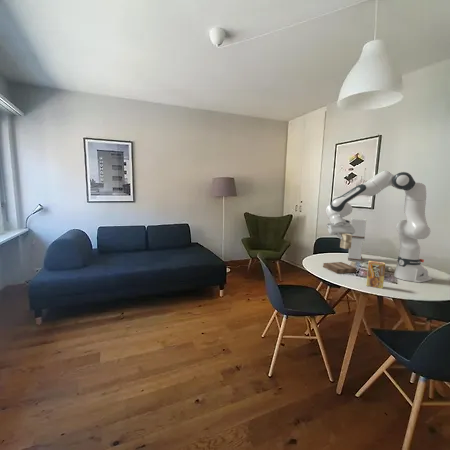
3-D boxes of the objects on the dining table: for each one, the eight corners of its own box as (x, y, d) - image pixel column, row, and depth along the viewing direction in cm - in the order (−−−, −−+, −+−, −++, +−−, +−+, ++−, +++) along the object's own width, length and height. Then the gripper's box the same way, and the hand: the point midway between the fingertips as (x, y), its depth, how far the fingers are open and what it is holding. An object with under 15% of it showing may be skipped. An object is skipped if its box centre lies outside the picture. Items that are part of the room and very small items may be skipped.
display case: (362, 262, 212) (366, 220, 207) (348, 260, 217) (351, 219, 212) (361, 258, 222) (365, 218, 217) (348, 257, 227) (351, 217, 222)
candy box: (382, 286, 158) (385, 262, 156) (383, 288, 155) (385, 264, 153) (366, 283, 163) (368, 260, 160) (366, 286, 159) (368, 262, 157)
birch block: (345, 247, 186) (347, 233, 185) (350, 248, 182) (352, 234, 180) (339, 247, 185) (341, 233, 184) (344, 248, 180) (346, 234, 179)
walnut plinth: (341, 265, 201) (341, 261, 201) (356, 272, 186) (356, 268, 185) (323, 266, 197) (323, 263, 197) (336, 273, 182) (337, 269, 182)
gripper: (328, 220, 186) (335, 236, 178) (351, 220, 191) (360, 236, 183) (323, 226, 191) (330, 241, 183) (346, 226, 196) (355, 241, 188)
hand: (345, 239), depth 183 cm, fingers closed on birch block, 5 cm apart
